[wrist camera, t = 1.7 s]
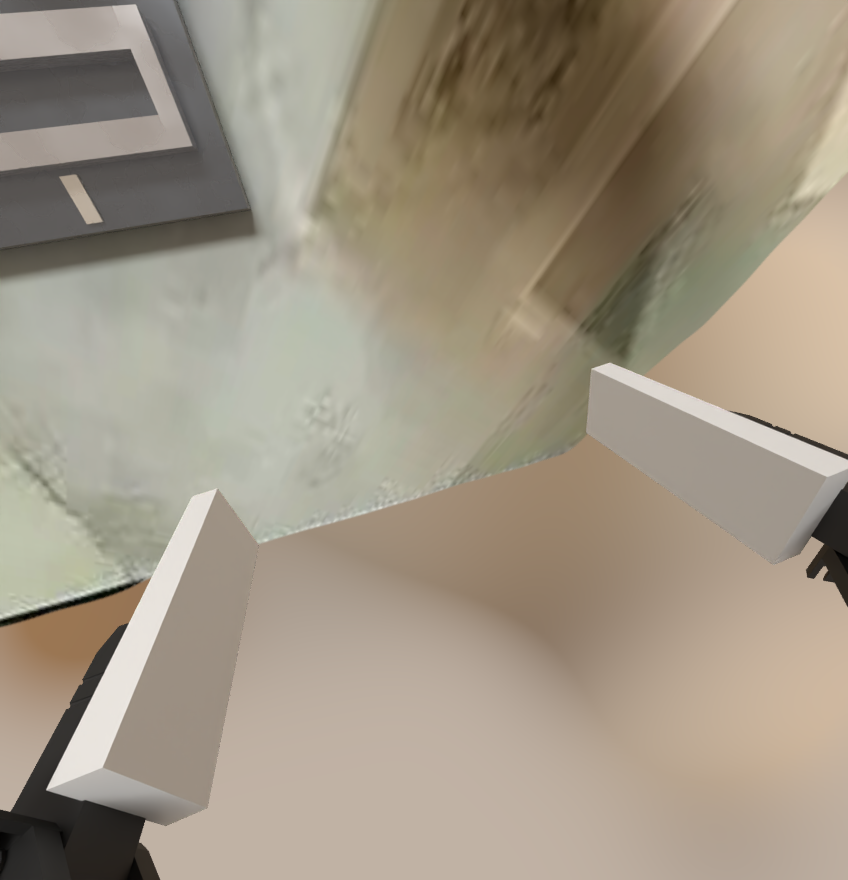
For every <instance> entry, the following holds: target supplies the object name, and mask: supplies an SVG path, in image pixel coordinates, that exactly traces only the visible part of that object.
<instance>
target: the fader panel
mask: <svg viewBox="0 0 848 880" xmlns="http://www.w3.org/2000/svg"><path fill="white" fill-rule="evenodd" d="M246 210H251V207H250V205H249V202H248V199H247V196H246V193H245V191H244V188H243V185H242V182H241V179H240V177H239V174H238V171H237V168H236V165H235V163H234V160H233V157H232V154H231V151H230V149H229V146H228V143H227V140H226V137H225V135H224V132H223V129H222V126H221V123H220V120H219V118H218V115H217V112H216V109H215V106H214V104H213V101H212V98H211V95H210V92H209V90H208V87H207V84H206V81H205V78H204V76H203V73H202V70H201V67H200V64H199V62H198V59H197V56H196V53H195V50H194V48H193V45H192V42H191V39H190V36H189V34H188V31H187V28H186V25H185V22H184V20H183V17H182V14H181V11H180V8H179V5H178V3H177V0H0V250H4V249H11V248H17V247H23V246H29V245H35V244H42V243H48V242H54V241H60V240H66V239H73V238H79V237H85V236H91V235H97V234H104V233H110V232H116V231H122V230H128V229H135V228H141V227H147V226H153V225H159V224H166V223H172V222H178V221H184V220H191V219H197V218H203V217H209V216H215V215H222V214H228V213H234V212H240V211H246Z"/></svg>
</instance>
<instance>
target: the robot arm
mask: <svg viewBox="0 0 848 880" xmlns="http://www.w3.org/2000/svg"><path fill="white" fill-rule="evenodd" d="M586 433H587V434H589V435H590V436H592V437H593V438H595V439H596V440H597V441H599V442H600V443H602V444H603V445H604V446H606V447H608V448H609V449H610V450H612V451H613V452H614V453H616V454H617V455H619V456H620V457H622V458H623V459H624V460H626V461H627V462H628V463H630V464H632V465H633V466H634V467H636V468H637V469H638V470H640V471H641V472H643V473H644V474H645V475H647V476H648V477H650V478H651V479H653V480H654V481H655V482H657V483H658V484H660V485H661V486H663V487H664V488H665V489H667V490H668V491H669V492H671V493H672V494H674V495H675V496H677V497H678V498H680V499H681V500H682V501H684V502H685V503H687V504H688V505H689V506H691V507H692V508H694V509H695V510H696V511H698V512H699V513H701V514H702V515H704V516H705V517H707V518H708V519H709V520H711V521H712V522H713V523H715V524H716V525H718V526H719V527H720V528H722V529H723V530H725V531H726V532H727V533H729V534H730V535H732V536H733V537H735V538H736V539H737V540H739V541H740V542H742V543H743V544H745V545H746V546H747V547H749V548H750V549H752V550H753V551H754V552H756V553H757V554H759V555H760V556H761V557H763V558H764V559H766V560H767V561H769V562H770V563H771V564H773V565H775V564H777V563H780V562H782V561H784V560H787V559H789V558H791V557H794V556H796V555H798V554H800V553H801V551H802V550H803V548H804V547H805V545H806V544H807V542H808V541H809V539H810V538H811V536H812V537H814V538H816V539H817V540H819V541H821V542H822V543H824V545H823V547H822V548H821V549H820V551H819V552H818V554H817V555H816V557H815V558H814V559H813V561H812V562H811V564H810V565H809V566H808V568H807V569H806V572H807V577H808V578H813V579H814V578H815V577H816V575H817V574H818V573H819V571H820V570H821V569H822V567H823V566H826V567H827V569H828V572H827V573H826V574H825V576H824V578H823V580H824V581H828V582H834V583H835V584H836V586H837V588H838V589H839V592H840V593H841V595H842V597H843V599H844V601H845V603H846V605H847V606H848V454H845V453H843V452H840V451H838V450H835V449H833V448H830V447H828V446H825V445H823V444H820V443H818V442H815V441H813V440H810V439H808V438H805V437H803V436H800V435H798V434H791V432H790V431H788V430H785V429H783V428H780V427H778V426H776V427H773V426H772V424H770V423H768V422H765V421H763V420H760V419H758V418H755V417H752V416H750V415H746V414H741V413H737V412H732V411H727V410H724V409H722V408H720V407H717V406H715V405H712V404H710V403H707V402H705V401H702V400H700V399H698V398H695V397H692V396H690V395H688V394H685V393H683V392H680V391H678V390H676V389H673V388H671V387H668V386H666V385H663V384H661V383H658V382H656V381H654V380H651V379H649V378H646V377H644V376H641V375H639V374H637V373H634V372H632V371H629V370H627V369H624V368H622V367H619V366H617V365H615V364H612V363H608V364H605V365H601V366H598V367H595V368H592V369H591V379H590V392H589V404H588V417H587V429H586ZM258 548H259V545H258V543H257V542H256V541H255V539H254V538H253V536H252V535H251V534H250V532H249V531H248V530H247V528H246V527H245V525H244V524H243V523H242V521H241V520H240V519H239V517H238V516H237V514H236V513H235V512H234V510H233V509H232V508H231V506H230V505H229V503H228V502H227V501H226V499H225V498H224V497H223V495H222V494H221V492H220V491H219V490H218V488H217V489H214V490H211V491H208V492H205V493H201V494H198V495H195V496H192V498H191V500H190V502H189V504H188V506H187V508H186V510H185V512H184V514H183V516H182V518H181V520H180V522H179V524H178V526H177V528H176V530H175V532H174V534H173V536H172V538H171V540H170V542H169V544H168V546H167V548H166V550H165V552H164V554H163V556H162V558H161V560H160V562H159V564H158V566H157V568H156V570H155V572H154V574H153V576H152V578H151V580H150V582H149V584H148V586H147V588H146V591H145V592H144V594H143V596H142V599H141V600H140V602H139V604H138V606H137V608H136V610H135V612H134V615H133V616H132V618H131V621H130V622H129V623H128V624H124V625H121V626H119V627H118V628H117V629H116V630H115V632H114V633H113V634H112V635H111V636H110V638H109V639H108V640H107V641H106V642H105V644H104V645H103V646H102V647H101V648H100V650H99V651H98V652H97V654H96V655H95V657H94V659H93V661H92V663H91V665H90V666H89V668H88V670H87V672H86V674H85V676H84V678H83V679H82V680H83V684H82V685H79V687H78V689H77V691H76V693H75V694H74V696H73V698H72V700H71V702H70V708H69V709H66V711H65V713H64V715H63V717H62V718H61V720H60V722H59V724H58V726H57V728H56V729H55V731H54V733H53V735H52V737H51V739H50V741H49V742H48V744H47V746H46V748H45V750H44V752H43V753H42V755H41V757H40V759H39V761H38V763H37V764H36V766H35V768H34V770H33V772H32V774H31V776H30V777H29V779H28V781H27V783H26V785H25V787H24V789H23V790H22V792H21V794H20V796H19V798H18V800H17V801H16V803H15V805H14V807H13V809H12V810H11V812H8V811H3V810H0V880H160V878H159V876H158V873H157V871H156V868H155V866H154V863H153V861H152V858H151V856H150V854H149V851H148V850H147V849H146V848H145V847H144V846H143V845H142V844H141V843H139V839H140V836H141V833H142V829H143V826H144V823H145V820H147V821H151V822H154V823H158V824H161V825H164V826H167V825H169V824H172V823H174V822H176V821H178V820H181V819H183V818H185V817H188V816H190V815H192V814H195V813H197V812H199V811H202V810H204V809H207V807H208V803H209V797H210V792H211V787H212V782H213V777H214V772H215V767H216V762H217V757H218V751H219V747H220V742H221V737H222V731H223V726H224V721H225V716H226V710H227V705H228V701H229V695H230V690H231V686H232V680H233V675H234V670H235V665H236V660H237V655H238V650H239V645H240V640H241V634H242V630H243V624H244V619H245V614H246V609H247V604H248V599H249V594H250V589H251V584H252V578H253V573H254V568H255V563H256V558H257V553H258Z"/></svg>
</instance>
